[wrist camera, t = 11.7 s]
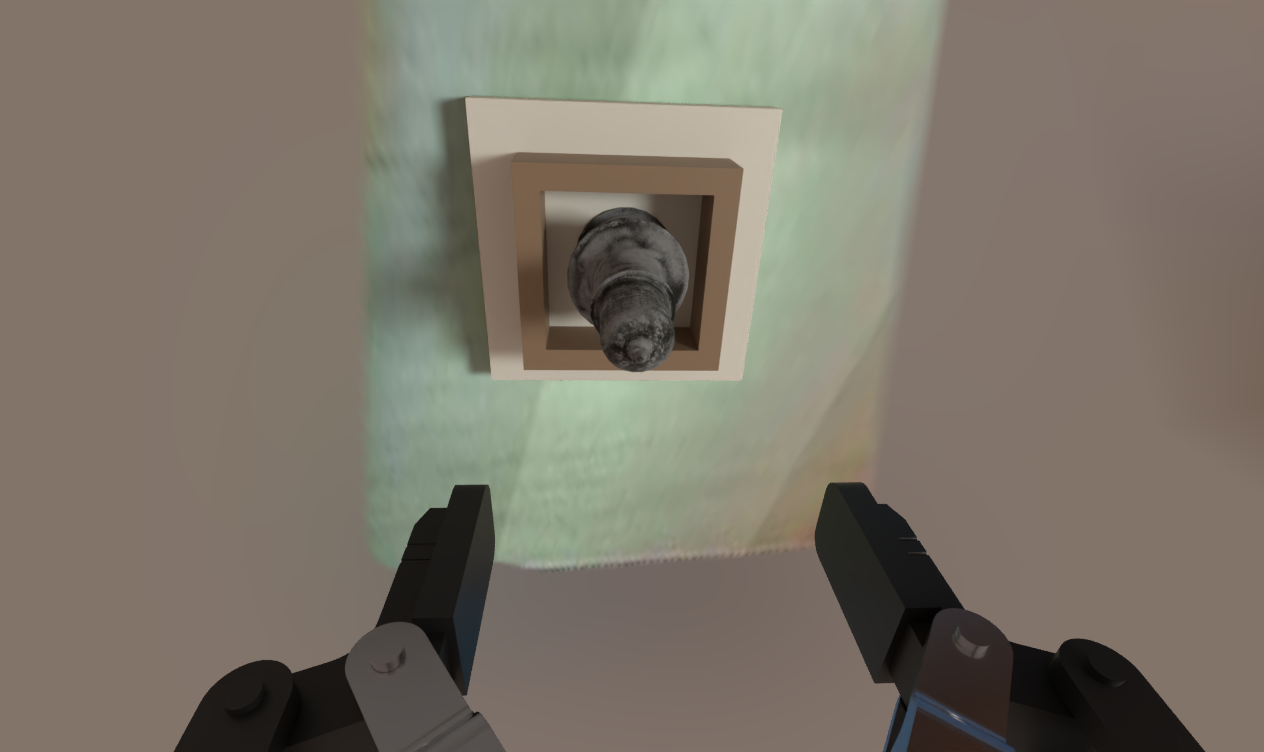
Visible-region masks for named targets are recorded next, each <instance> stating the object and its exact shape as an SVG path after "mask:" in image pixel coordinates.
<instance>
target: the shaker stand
mask: <svg viewBox="0 0 1264 752" xmlns="http://www.w3.org/2000/svg"><path fill="white" fill-rule="evenodd" d="M465 102H466V113H467V123H468V134H469V144H470V155H471V165H472V176H473V187H474V197H475V208H476V218H477V229H478V239H479V250H480V261H481V271H482V282H483V292H484V303H485V313H486V324H487V334H488V345H489V356H490V366H491V377H492V380H729V381H742V378H743V371H744V364H745V358H746V351H747V344H748V338H749V331H750V324H751V318H752V311H753V304H754V297H755V291H756V284H757V277H758V271H759V264H760V257H761V251H762V244H763V237H764V231H765V224H766V217H767V211H768V204H769V197H770V191H771V184H772V177H773V171H774V164H775V157H776V151H777V144H778V137H779V131H780V124H781V117H782V110H783V109H780V108H777V107H765V106H738V105H711V104H683V103H656V102H629V101H602V100H574V99H547V98H520V97H493V96H469V97H466V98H465ZM618 207H633V208H636V209H640V210H643V211H646V212H648V213H649V214H651V215H652V216H654V217H656V218H657V219H658V220H659V221H660V222H661V223H662V224H663V226H664V227H665V228H666V230H667V231H668V232H669V233H670V234H671V235H672V236H673V237H674V238H675V239H676V240H677V241H678V243H679V244H680V246H681V248H682V250H683V252H684V254H685V256H686V259H687V264H688V269H689V280H688V289H687V291H686V294H685V297H684V300H683V302H682V304H681V305H680V307H679V308H678V309H677V311H676V312H675V318H674V320H673V327H674V331H675V342H674V346H673V349H672V352H671V354H670V355H669V357H668V358H667V359H666V361H664V362H663V363H662V364H661V365H660V366H658V367H656V368H654V369H652V370H649V371H645V372H629V371H624V370H622V369H620V368H618V367H616V366H614V365H613V364H612V363H611V362H610V361H609V360H608V359H607V357H606V355H605V354H604V352H603V350H602V347H601V344H600V334H599V333H598V332H597V330H596V329H595V327H594V325H592V324H591V323H590V322H588V321H587V320H586V319H585V318H584V317H583V316H582V315H581V314H580V313H579V311H578V310H577V308H576V307H575V305H574V304H573V302H572V299H571V296H570V293H569V290H568V284H567V270H568V266H569V262H570V258H571V255H572V253H573V251H574V250H575V248H576V246H577V242H578V238H579V236H580V235H581V233H582V231H583V229H584V228H585V226H586V225H587V224H588V223H589V222H590V221H591V220H592V219H593V218H594V217H596V216H598V215H599V214H601V213H603V212H605V211H607V210H610V209H614V208H618Z"/></svg>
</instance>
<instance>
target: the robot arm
mask: <svg viewBox="0 0 1264 752" xmlns="http://www.w3.org/2000/svg"><path fill="white" fill-rule="evenodd" d="M815 546H816V551H817V554H818V557H819V559H820V561H821V564H822V566H823V568H824V570H825V573H826V575H827V577H828V580H829V582H830V584H831V586H832V589H833V591H834V593H835V595H836V597H837V600H838V602H839V604H840V606H841V609H842V611H843V613H844V616H845V618H846V620H847V622H848V625H849V627H850V629H851V631H852V634H853V636H854V638H855V640H856V642H857V645H858V647H859V649H860V652H861V654H862V656H863V658H864V661H865V663H866V665H867V667H868V670H869V672H870V674H871V676H872V679H873V681H874V683H895V685H896V687H897V689H898V691H899V693H900V695H899V697H898V699H897V702H896V705H895V709H894V713H893V716H892V720H891V724H890V727H889V731H888V735H887V738H886V742H885V746H884V750H883V752H1205V751H1204V750H1203V748H1202V747H1201V746H1200V745H1199V743H1198V742H1197V741H1196V740H1195V739H1194V737H1193V736H1192V735H1191V734H1190V733H1189V731H1188V730H1187V729H1186V728H1185V726H1184V725H1183V724H1182V723H1181V721H1180V720H1179V719H1178V718H1177V717H1176V715H1175V714H1174V713H1173V712H1172V710H1171V709H1170V708H1169V707H1168V706H1167V704H1166V703H1165V702H1164V701H1163V699H1162V698H1161V697H1160V696H1159V694H1158V693H1157V692H1156V691H1155V690H1154V689H1153V687H1152V686H1151V685H1150V683H1149V682H1148V681H1147V680H1146V679H1145V677H1144V676H1143V675H1142V674H1141V673H1140V671H1139V670H1138V669H1137V668H1136V667H1135V666H1134V665H1133V664H1132V663H1131V662H1129V661H1128V660H1127V659H1126V658H1124V657H1123V656H1122V655H1120V654H1119V653H1117V652H1116V651H1114V650H1112V649H1110V648H1108V647H1107V646H1104V645H1102V644H1099V643H1097V642H1094V641H1091V640H1086V639H1070V640H1067V641H1065V642H1063V644H1062V645H1061V646H1060V648H1059V649H1058V651H1057V652H1056V653H1052V652H1048V651H1044V650H1040V649H1036V648H1032V647H1028V646H1024V645H1020V644H1016V643H1013V642H1010V641H1008V639H1007V638H1006V636H1005V635H1004V634H1003V633H1002V632H1001V630H999V629H998V628H997V627H996V626H995V625H994V624H993V623H991V622H990V621H989V620H987V619H985V618H984V617H982V616H980V615H978V614H976V613H974V612H971V611H968V610H965V609H964V608H963V606H962V605H961V603H960V602H959V600H958V598H957V597H956V595H955V594H954V593H953V591H952V589H951V588H950V586H949V585H948V584H947V582H946V580H945V579H944V577H943V576H942V574H941V573H940V571H939V570H938V568H937V567H936V565H935V564H934V562H933V561H932V559H931V558H930V556H929V555H927V554H926V550H925V549H924V547H923V546H922V545H921V543H920V541H917V537H916V535H915V534H914V532H913V531H912V529H911V528H910V526H909V525H908V523H907V522H906V520H905V519H904V518H903V517H902V516H900V515H899V514H898V513H897V512H895V511H894V510H893V509H892V508H890V507H889V506H888V505H887V504H877V502H876V501H875V499H874V497H873V496H872V494H871V493H870V491H869V489H868V488H867V486H866V485H865V484H864V483H861V482H848V483H830V484H829V485H828V486H827V488H826V491H825V495H824V499H823V503H822V507H821V510H820V514H819V518H818V522H817V525H816V530H815ZM494 551H495V531H494V522H493V513H492V504H491V495H490V488H489V485H455V486H454V488H453V491H452V494H451V497H450V500H449V503H448V507H447V508H430V509H429V510H428V511H427V512H426V513H425V514H424V515H423V516H422V517H421V518H420V520H419V521H418V522H417V523H416V524H415V525H414V528H413V530H412V533H411V536H410V538H409V541H408V544H407V548H406V549H405V551H404V554H403V557H402V559H401V560H402V562H401V563H400V565H399V567H398V570H397V573H396V575H395V578H394V581H393V583H392V586H391V588H390V591H389V594H388V596H387V599H386V602H385V604H384V607H383V610H382V612H381V615H380V618H379V620H378V623H377V625H376V627H375V628H374V629H373V630H371V631H370V632H368V633H367V634H365V635H364V636H363V637H362V638H361V639H360V640H359V641H358V642H357V643H356V644H355V645H354V647H353V648H352V649H351V651H350V653H348V654H346V655H345V656H342V657H341V658H338V659H336V660H333V661H330V662H327V663H324V664H321V665H318V666H315V667H311V668H308V669H305V670H302V671H299V672H295V673H291V671H290V669H289V668H288V667H287V666H286V665H284V664H283V663H281V662H278V661H273V660H261V661H255V662H252V663H248V664H246V665H243V666H241V667H239V668H237V669H235V670H233V671H231V672H230V673H228V674H227V675H225V676H224V677H223V678H221V679H220V680H219V681H218V682H217V683H216V684H215V685H214V686H212V687H211V688H210V690H209V691H208V692H207V693H206V695H205V696H204V697H203V699H202V701H201V702H200V704H199V706H198V708H197V710H196V712H195V713H194V716H193V717H192V719H191V721H190V723H189V724H188V726H187V728H186V730H185V732H184V734H183V735H182V737H181V739H180V741H179V743H178V745H177V747H176V749H175V751H174V752H506V751H505V749H504V748H503V746H502V745H501V743H500V741H499V740H498V738H497V736H496V735H495V733H494V731H493V730H492V728H491V726H490V725H489V723H488V722H487V720H486V719H485V718H484V717H483V715H482V714H481V713H479V712H476V713H474V712H473V711H472V710H471V709H470V707H469V706H468V704H467V703H466V701H465V699H464V698H463V695H467V691H468V686H469V682H470V676H471V671H472V666H473V661H474V656H475V651H476V646H477V641H478V636H479V631H480V626H481V621H482V615H483V610H484V605H485V600H486V595H487V590H488V585H489V580H490V575H491V570H492V565H493V560H494Z"/></svg>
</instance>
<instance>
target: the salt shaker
mask: <svg viewBox="0 0 1264 752" xmlns="http://www.w3.org/2000/svg"><path fill="white" fill-rule="evenodd" d="M688 280H689V269H688V264H687V259H686V256H685V254H684V252H683V250H682V248H681V246H680V244H679V243H678V241H677V240H676V239H675V238H674V237H673V236H672V235H671V234H670V233H669V232H668V231H667V230H666V228H665V227H664V226H663V224H662V223H661V222H660V221H659V220H658V219H657V218H656V217H654V216H652V215H651V214H649V213H648V212H646V211H643V210H640V209H636V208H633V207H618V208H614V209H610V210H607V211H605V212H603V213H601V214H599V215H598V216H596V217H594V218H593V219H592V220H591V221H590V222H589V223H588V224H587V225H586V226H585V228H584V229H583V231H582V233H581V235H580V236H579V238H578V242H577V246H576V248H575V250H574V251H573V253H572V255H571V258H570V262H569V266H568V270H567V284H568V290H569V293H570V296H571V299H572V302H573V304H574V305H575V307H576V308H577V310H578V311H579V313H580V314H581V315H582V316H583V317H584V318H585V319H586V320H587V321H588V322H590V323H591V324H592V325H594V327H595V329H596V330H597V332H598V333H599V334H600V344H601V347H602V350H603V352H604V354H605V355H606V357H607V359H608V360H609V361H610V362H611V363H612V364H613V365H614V366H616V367H618V368H620V369H622V370H624V371H629V372H645V371H649V370H652V369H654V368H656V367H658V366H660V365H661V364H662V363H663V362H664V361H666V359H667V358H668V357H669V355H670V354H671V352H672V349H673V346H674V342H675V331H674V327H673V320H674V318H675V312H676V311H677V309H678V308H679V307H680V305H681V304H682V302H683V300H684V297H685V294H686V291H687V289H688Z"/></svg>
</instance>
